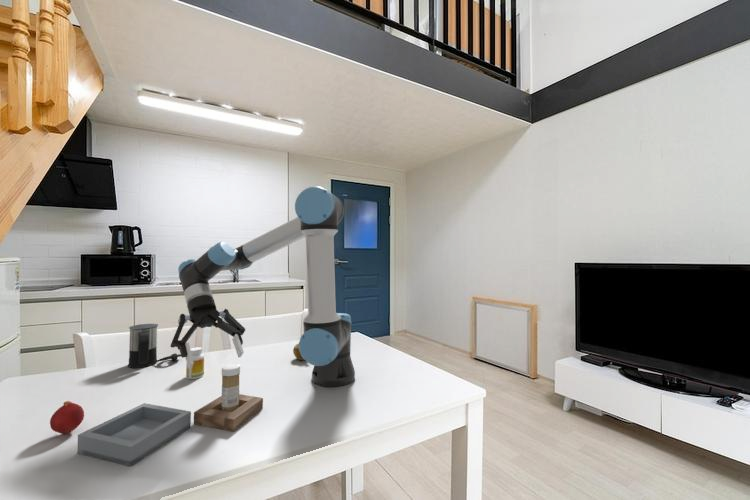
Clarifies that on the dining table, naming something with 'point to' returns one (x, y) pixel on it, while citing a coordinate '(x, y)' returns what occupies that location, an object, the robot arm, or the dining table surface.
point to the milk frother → (144, 346)
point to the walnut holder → (228, 413)
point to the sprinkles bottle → (230, 387)
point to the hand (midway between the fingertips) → (217, 360)
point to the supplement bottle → (196, 364)
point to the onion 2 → (297, 352)
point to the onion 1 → (67, 418)
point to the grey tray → (133, 434)
